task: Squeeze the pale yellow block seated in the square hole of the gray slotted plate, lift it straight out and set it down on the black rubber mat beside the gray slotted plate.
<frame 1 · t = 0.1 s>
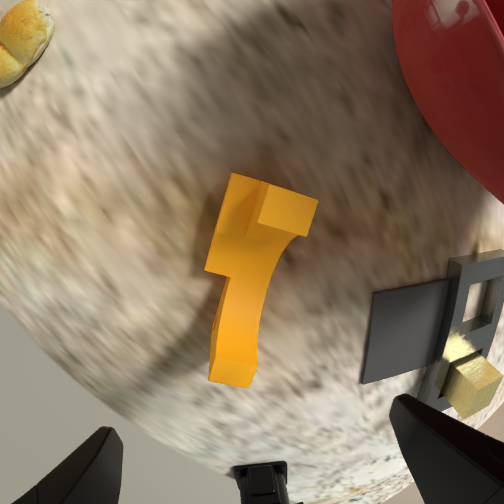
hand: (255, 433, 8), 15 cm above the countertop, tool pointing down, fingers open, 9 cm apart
mixing bowl: (458, 76, 18), on the countertop
pipe clamp: (237, 260, 22), on the countertop
mat: (412, 331, 25), on the countertop
pale yellow block: (452, 364, 27), resting in gray slotted plate
bread roll: (21, 45, 15), on the countertop
gray slotted plate: (460, 337, 26), on the countertop
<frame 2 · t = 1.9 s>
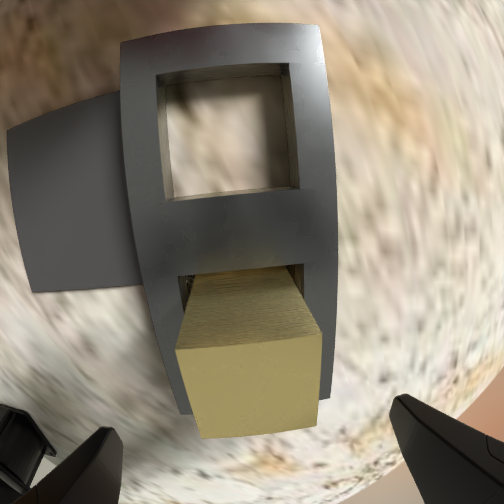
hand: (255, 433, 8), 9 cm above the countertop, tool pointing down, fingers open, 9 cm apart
mat: (80, 196, 13), on the countertop
pale yellow block: (243, 306, 16), resting in gray slotted plate
gray slotted plate: (236, 234, 15), on the countertop
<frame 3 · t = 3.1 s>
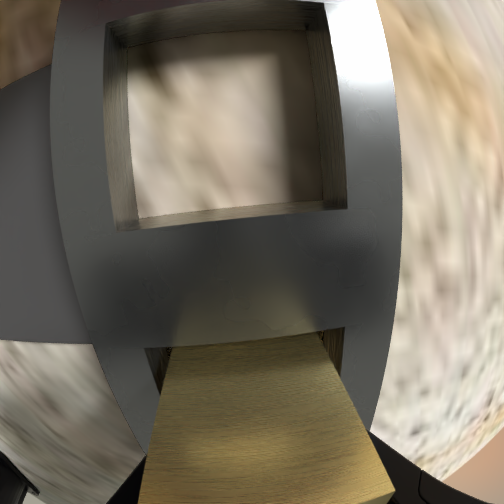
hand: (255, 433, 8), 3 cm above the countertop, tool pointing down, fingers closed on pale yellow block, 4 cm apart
mat: (15, 216, 8), on the countertop
pale yellow block: (248, 373, 11), resting in gray slotted plate, touching gripper
gray slotted plate: (237, 275, 9), on the countertop
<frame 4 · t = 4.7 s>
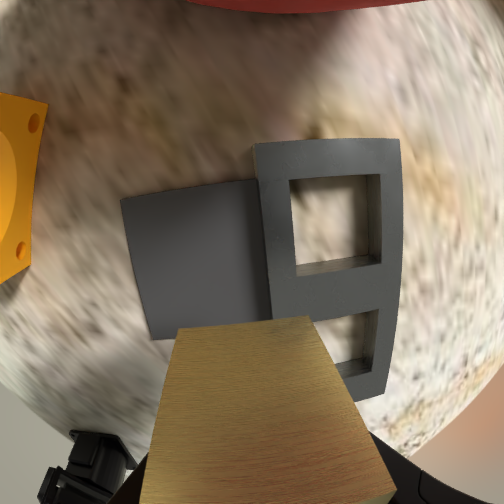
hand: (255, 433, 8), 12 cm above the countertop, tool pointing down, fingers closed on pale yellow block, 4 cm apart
pipe clamp: (17, 182, 16), on the countertop
mat: (209, 264, 19), on the countertop
pale yellow block: (249, 373, 11), point 9 cm above the countertop, touching gripper
gray slotted plate: (331, 289, 20), on the countertop
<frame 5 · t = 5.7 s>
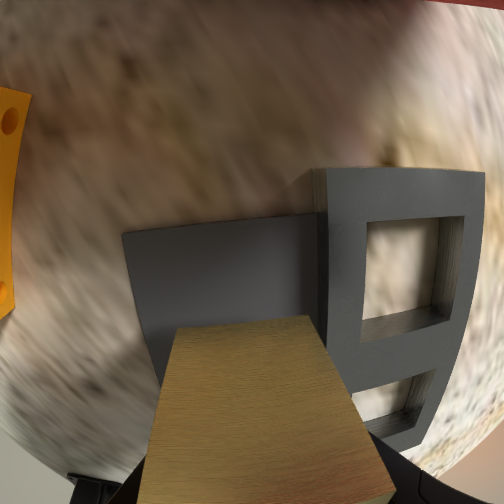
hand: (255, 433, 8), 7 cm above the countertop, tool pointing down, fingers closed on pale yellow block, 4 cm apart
mat: (244, 322, 14), on the countertop
pale yellow block: (248, 372, 10), point 4 cm above the countertop, touching gripper
gray slotted plate: (386, 346, 15), on the countertop
when the fingers open (4 cm above the countertop, at t = 6.4 s): pale yellow block drops 1 cm, resting on mat.
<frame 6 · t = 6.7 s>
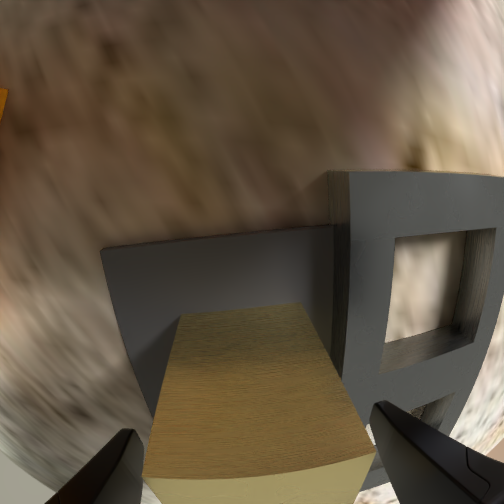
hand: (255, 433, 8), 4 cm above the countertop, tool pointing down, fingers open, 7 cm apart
mat: (246, 351, 12), on the countertop
pale yellow block: (246, 357, 11), resting on mat
gray slotted plate: (403, 369, 13), on the countertop
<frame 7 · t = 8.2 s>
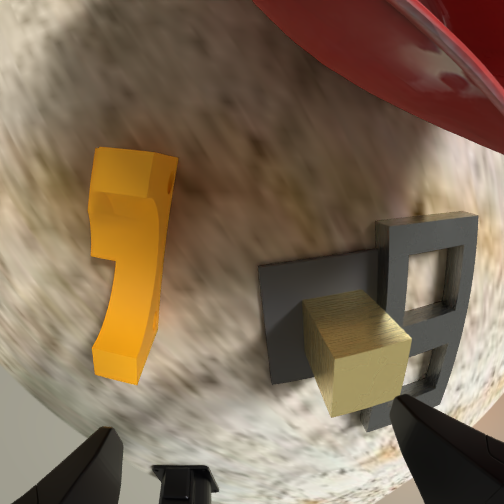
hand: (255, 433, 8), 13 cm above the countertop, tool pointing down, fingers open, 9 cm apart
mixing bowl: (368, 0, 15), on the countertop
pipe clamp: (135, 243, 19), on the countertop
mat: (331, 319, 21), on the countertop
pale yellow block: (333, 322, 21), resting on mat
gray slotted plate: (415, 329, 22), on the countertop
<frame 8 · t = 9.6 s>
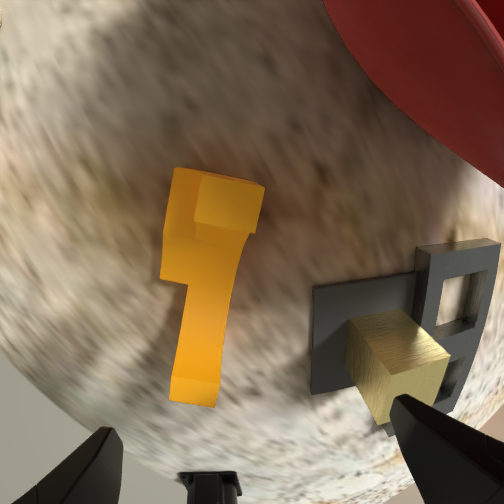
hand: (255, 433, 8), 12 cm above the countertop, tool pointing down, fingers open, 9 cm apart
mixing bowl: (420, 33, 15), on the countertop
pipe clamp: (200, 264, 19), on the countertop
mat: (371, 335, 22), on the countertop
pale yellow block: (372, 337, 21), resting on mat
gray slotted plate: (438, 343, 23), on the countertop
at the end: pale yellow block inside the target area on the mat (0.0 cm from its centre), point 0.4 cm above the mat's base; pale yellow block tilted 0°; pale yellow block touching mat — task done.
